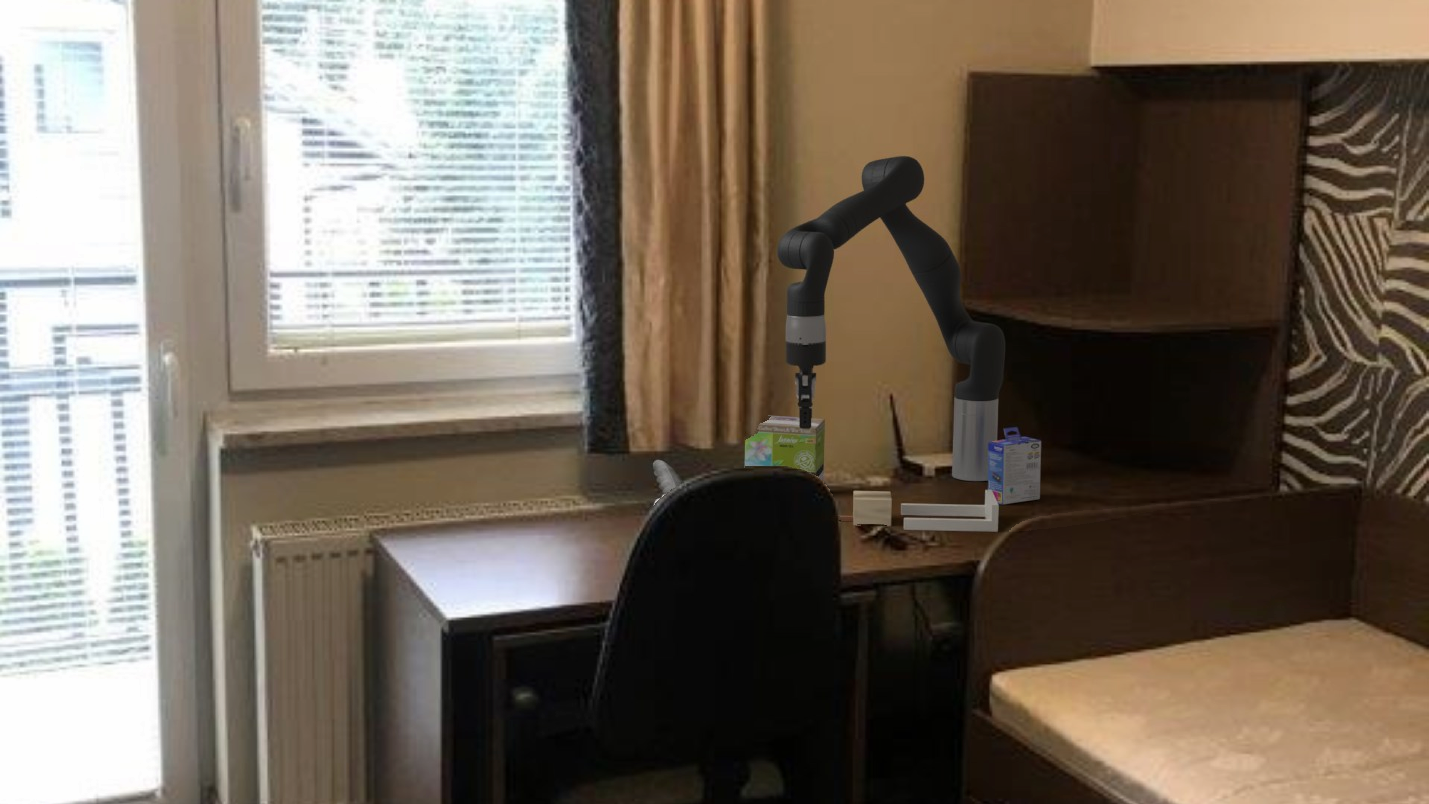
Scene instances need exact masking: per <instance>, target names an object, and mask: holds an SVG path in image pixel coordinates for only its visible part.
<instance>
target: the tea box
mask: <svg viewBox="0 0 1429 804" xmlns="http://www.w3.org/2000/svg"><path fill="white" fill-rule="evenodd" d="M770 416H771V417H770V418H769V420H767V421H765V422H763V423H760V424H759V425H758V428H757V429H758V430H759V431H758V433H757V434H754V436H751V437H750V438H748V439H746V440H745V439H744V467H745V466H788V467H792V468H797V469H802V470H805V471H807V472H811V473H812V474H814V475H816V476H818V477H819V478H821V480H823V481H824V471H825V470H824V469H825V432H826V431H825V429H826V427H825V426H826V419H825V418H813V417H812V418H811V428H810V429H801V428H800V427H799V416H797V417H796V416H783V415H782V416H781V415H770Z"/></svg>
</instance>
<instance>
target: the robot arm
mask: <svg viewBox="0 0 1429 804" xmlns="http://www.w3.org/2000/svg"><path fill="white" fill-rule="evenodd" d="M861 184H862V187H863V188H862V191H860V192H857V193H855V194H853V195H850V196H848V197H846V198H843V199H842V200H840V201H839V202H837V203H835V204H834V205H832V206H831V207H829V208H828V209H827V210H825V211H824V212H823V213H822V214H821V215H819V216H818V217H816V218H814V219H812V220H809V221H808V220H807V221H806V222H804V223H802V224H799V225H797V226H795V227H793V228H791V229H789V230H788V231H786V232H785V234H784V235H782V236H781V238H780V240H779V242H778V245H777V248H776V249H777V250H776V253H777V258H778V260H779V261H780V263H781V265H783V266H785V268H788V269H792V270H802V271H803V270H805V271H806V272H805V276H804V278H803V279H802V281H798V282H794V283H791V284H789V286H788V287H787V290H786V323H785V362H786V363H785V364H787V365H789V366H794V367H795V366H797V367H798V368H799V372H795V375H794V380H795V381H794V384H795V385H796V388H795V390H796V391H795V394H796V395H795V396H796V398H797V399H798V402H797V407H798V409H799V414H798V415H799V416H798V417H799V427H800V428H801V429H810V428H811V418H813V399H815V393H816V384H817V372H813V369H814V367H815V366H816V367H817V366H821V365H822V366H823V365H824V364H825V363H826V360H827V344H826V343H827V326H826V319H825V318H826V316H825V312H826V310H825V307H826V306H825V298H826V297H825V293H826V289H827V285H828V281H829V278H830V273H831V270H832V266H833V263H834V257H835V250H837V249H840V248H841V247H842V246H843V245H845V244H846V243H847V242H849V241H850V240H851V239H852V238H854V237H855V236H856V235H857V234H858V233H860V232H861V231H862V230H864V229H865V228H866V227H868V226H869V225H871V224H872V223H874V222H875V221H876V220H879V219H880V220H881V221H882V223H883V224H884V225H885V227H886V229H887V230H888V232H889V234H890V235H891V237H892V239H893V240H894V242H895V244H896V245H897V247H898V250H900V252H901V254H902V256H903V258H904V260H905V262H906V265H907V266H908V268H909V270H910V273H911V274H912V276H913V277H914V280H915V282H916V285H918V287H919V288H920V290H921V292H922V294H923V295H924V298H925V299H926V301H927V304H928V306H929V308H930V309H931V311H932V314H933V316H934V318H935V320H936V323H937V325H938V327H939V329H940V332H941V335H942V338H943V341H944V342H945V343H944V344H945V345H946V347H947V350H948V352H949V354H950V356H951V357H952V358H953V359H954V360H955V361H956V362H958V363H960V364H964V365H969V366H970V371H969V376H968V378H966V379H965V380H963V381H962V380H961V381H959V382H957V383H956V384H955V387H954V399H953V400H954V402H953V403H954V404H953V436H952V439H953V440H952V466H951V467H952V469H951V477H953V478H954V479H957V480H961V481H967V482H985V481H986V482H988V442H990V441H997V440H998V425H999V423H998V421H999V397H1000V396H999V393H1000V390H1001V388H1002V385H1003V381H1004V370H1005V359H1006V339H1005V335H1004V332H1003V330H1002V329H1001V328H1000V327H999V326H998V325H996V324H993V323H987V322H983V321H982V322H981V321H976V320H975V321H974V320H973V319H972V318H971V317H970V315H969V313H968V312H967V311H966V308H965V307H964V304H963V302H962V300H961V296H960V295H961V294H960V292H961V282H962V273H961V267H960V265H959V262H958V261H957V258H956V256H955V255H954V253H953V251H952V249H951V247H950V245H949V243H948V242H947V240H946V239H945V238H944V237H943V236H942V235H941V234H939V233H938V231H936V230H934V229H933V228H932V227H930V226H929V225H928V224H926V223H925V222H923V221H922V220H921V219H920V218H919V217H917V216H916V215H915V214H914V213H913V212H912V210H910V208H909V206H907V204H908V203H910V202H912V201H914V200H916V198H918V197H919V196H920V195H921V193H922V191H923V189H924V185H925V174H924V169H923V168H922V165H921V164H920V162H919V161H918V160H917V159H916V158H914V157H912V156H906V155H899V156H893V157H892V156H891V157H887V158H885V157H884V158H881V159H880V158H879V159H875V160H872V161H869V162H868V163H866V164H865V166H864V167H863V169H862V172H861Z"/></svg>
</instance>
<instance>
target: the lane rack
mask: <svg viewBox="0 0 1429 804" xmlns="http://www.w3.org/2000/svg"><path fill="white" fill-rule="evenodd" d="M984 491H985V492H984V504H957V503H955V504H954V503H953V504H949V503H947V504H945V503H944V504H943V503H906V502H905V503H900V515H901V516H928V517H904V518H903V530H905V531H906V530H907V531H944V532H945V531H946V532H947V531H950V532H952V531H953V532H988V533H989V532H993V533H994V532H998V531H999V505H1000V504H999V503H997V501H996V498H995V496H994V494H993V492H992V490H988V489H985V490H984ZM929 516H936V517H934V518H933V517H931V518H929ZM938 517H939V518H938ZM940 517H945V518H940ZM946 517H980V518H946ZM982 517H983V519H982Z"/></svg>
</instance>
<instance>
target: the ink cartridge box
mask: <svg viewBox="0 0 1429 804" xmlns="http://www.w3.org/2000/svg"><path fill="white" fill-rule="evenodd" d="M1002 430H1003V433H1004V438H1005V439H999V440H998V439H997V441H990V442H988V481H987V490H992V492H993V494H994V496H995V498H996V501H997V503H998V505H1011V504H1015V503H1023V502H1029V501H1035V500H1040V498H1041V465H1042V464H1041V461H1042V460H1041V459H1042V457H1041V456H1042V455H1041V454H1042V440H1041V439H1037V438H1034V437H1031V436H1030V437H1028V436H1021V433H1020V431H1019V428H1018V427H1017V426H1014V427H1005V428H1003V429H1002ZM1009 432H1015V433H1016V434H1008V433H1009Z"/></svg>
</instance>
